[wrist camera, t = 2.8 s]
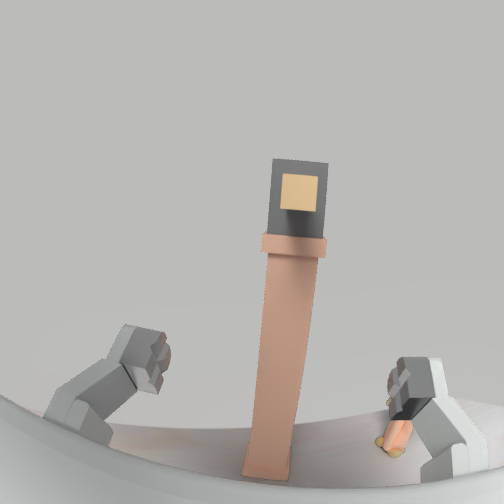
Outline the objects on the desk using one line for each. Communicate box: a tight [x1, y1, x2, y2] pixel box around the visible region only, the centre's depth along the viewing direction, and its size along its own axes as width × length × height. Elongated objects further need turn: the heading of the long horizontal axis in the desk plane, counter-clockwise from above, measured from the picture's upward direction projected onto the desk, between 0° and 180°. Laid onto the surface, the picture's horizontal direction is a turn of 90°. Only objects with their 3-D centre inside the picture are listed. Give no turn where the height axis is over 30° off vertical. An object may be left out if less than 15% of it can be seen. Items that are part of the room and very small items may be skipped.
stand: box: [242, 231, 327, 481], centre depth 29 cm, size 5×5×26 cm
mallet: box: [267, 159, 328, 239], centre depth 23 cm, size 4×13×6 cm, turn 172°
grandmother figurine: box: [375, 397, 413, 457], centre depth 32 cm, size 8×4×13 cm, turn 31°
